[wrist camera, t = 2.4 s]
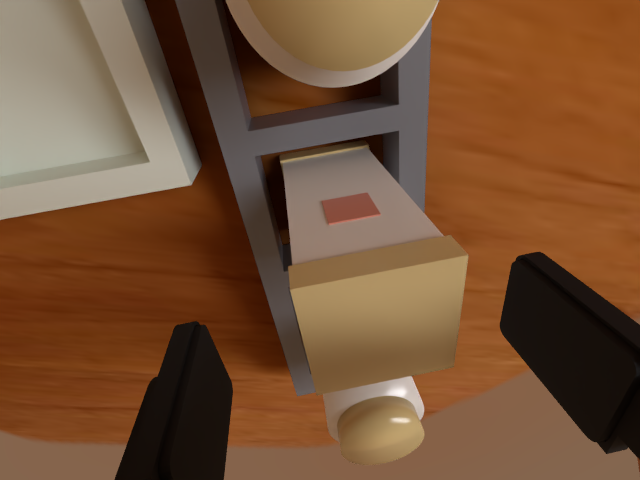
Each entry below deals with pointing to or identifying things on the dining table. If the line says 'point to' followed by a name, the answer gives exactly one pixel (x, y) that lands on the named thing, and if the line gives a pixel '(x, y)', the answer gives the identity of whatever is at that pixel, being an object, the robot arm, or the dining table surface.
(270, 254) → the holder
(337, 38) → the post
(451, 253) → the block
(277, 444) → the dining table surface
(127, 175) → the tray
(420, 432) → the post
